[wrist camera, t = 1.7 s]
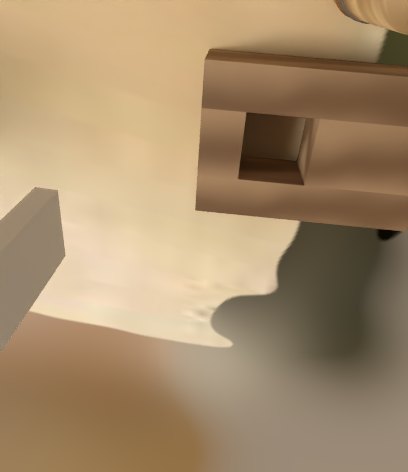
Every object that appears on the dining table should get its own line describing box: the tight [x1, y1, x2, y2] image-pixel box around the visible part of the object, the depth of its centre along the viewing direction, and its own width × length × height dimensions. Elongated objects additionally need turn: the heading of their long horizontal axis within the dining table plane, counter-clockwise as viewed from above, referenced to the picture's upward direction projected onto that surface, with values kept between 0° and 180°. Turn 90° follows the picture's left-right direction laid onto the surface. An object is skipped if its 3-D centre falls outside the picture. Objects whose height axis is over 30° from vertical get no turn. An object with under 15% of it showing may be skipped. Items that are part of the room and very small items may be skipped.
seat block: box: [195, 49, 408, 231], centre depth 31 cm, size 12×18×5 cm, turn 86°
